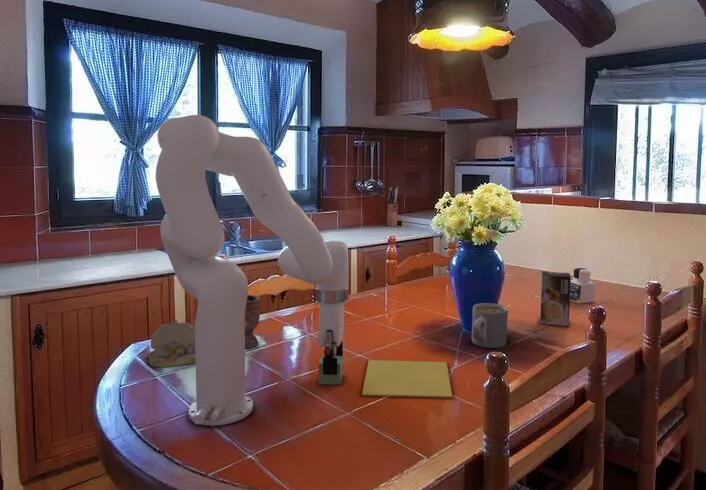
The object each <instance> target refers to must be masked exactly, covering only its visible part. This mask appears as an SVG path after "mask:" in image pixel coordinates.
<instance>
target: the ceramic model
mask: <svg viewBox="0 0 706 490" xmlns="http://www.w3.org/2000/svg"><path fill="white" fill-rule="evenodd" d="M150 349H151V350H152V351H151V352H149V353H148V354H147V358H148V364H149V365H150V366H152V367H157V368H167V367H168V368H169V367H176V366H183V365H189V364H196V358H195V325H194V326H193V325H191V323H189V322H187V321H185V322H179V320H178V319H175V320H172V321H171V323H163V324H160V326H159V327H158V328H157V329H156V331H154V333H152V335H151V338H150Z"/></svg>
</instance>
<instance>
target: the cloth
mask: <svg viewBox="0 0 706 490" xmlns="http://www.w3.org/2000/svg"><path fill="white" fill-rule="evenodd" d="M367 361H368V362H367V367H366V372H365V377H364V381H363V386H362V391H361V396H363V397H365V396H366V397H400V398H401V397H406V398H407V397H408V398H442V399H443V398H446V399H453V393H452V387H451V381H450V375H449V374H450V373H449V369H448V368H449V367H448V362H447V361H422V360H421V361H419V360H418V361H417V360H380V359H377V360H376V359H368V360H367Z"/></svg>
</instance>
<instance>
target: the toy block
mask: <svg viewBox="0 0 706 490" xmlns="http://www.w3.org/2000/svg"><path fill="white" fill-rule="evenodd" d="M336 357H337V368H338V373H337V375H324V374H323V354H322V355H321V357H320V360H319V362H318V385H335V386H337V385H339V386H340V385H341V383H342V380H343V376H344V355H343V356H336Z"/></svg>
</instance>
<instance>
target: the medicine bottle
mask: <svg viewBox="0 0 706 490" xmlns="http://www.w3.org/2000/svg"><path fill="white" fill-rule="evenodd" d="M591 273H592V272H591V270H590V269H588V268H586V267H577V268H574V269H573V275H572V279H571V285H570V302H571V301H572V302H575V303H577V304H587V303H594V302H595V294H596V283H595V282H592V281H591V275H592V274H591Z"/></svg>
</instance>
